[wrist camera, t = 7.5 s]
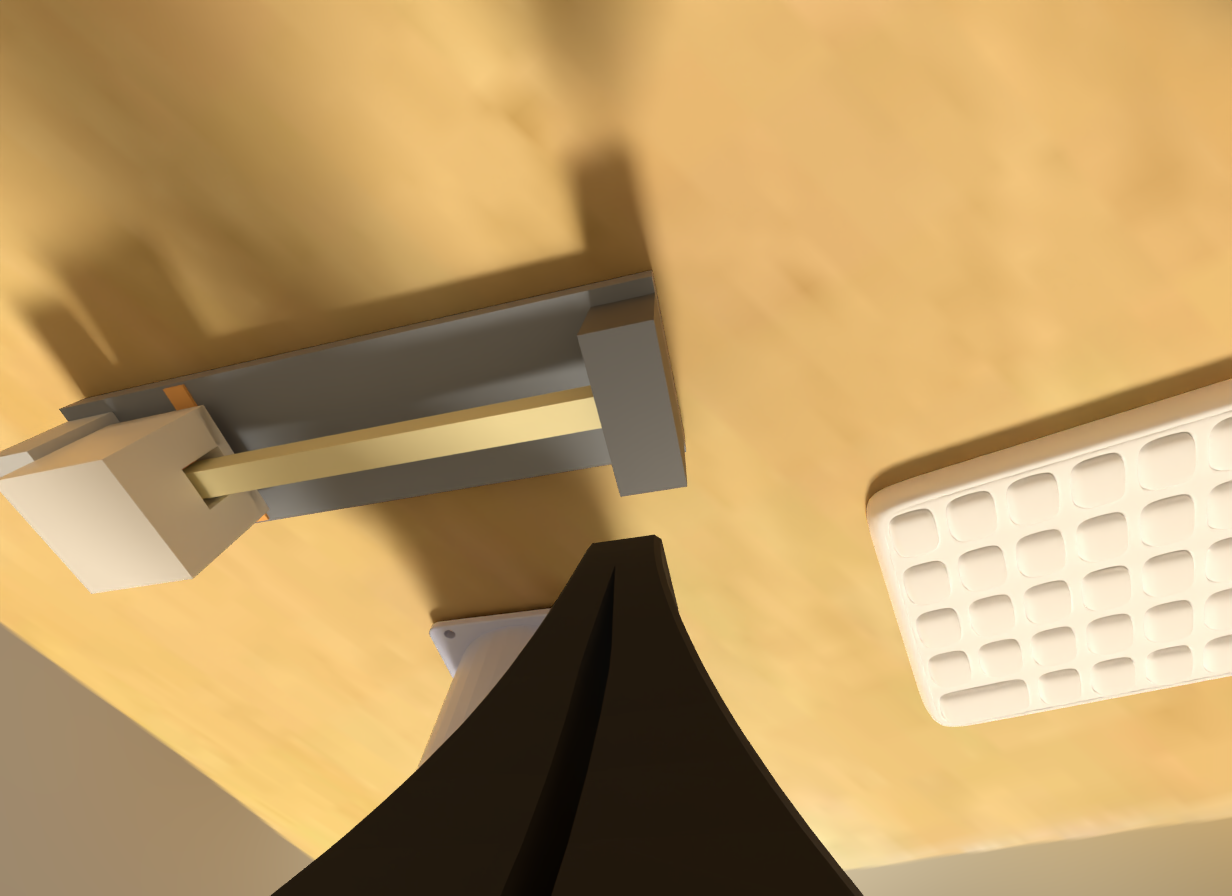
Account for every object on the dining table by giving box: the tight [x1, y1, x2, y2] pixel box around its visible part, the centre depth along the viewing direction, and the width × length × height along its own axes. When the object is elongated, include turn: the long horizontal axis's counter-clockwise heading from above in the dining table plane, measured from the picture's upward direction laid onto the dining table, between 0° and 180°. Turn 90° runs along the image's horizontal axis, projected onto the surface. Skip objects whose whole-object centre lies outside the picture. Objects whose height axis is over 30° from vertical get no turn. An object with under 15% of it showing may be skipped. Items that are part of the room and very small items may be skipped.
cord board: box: [0, 270, 687, 523], centre depth 18 cm, size 22×6×4 cm, turn 103°
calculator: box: [866, 378, 1232, 727], centre depth 20 cm, size 13×20×2 cm, turn 115°
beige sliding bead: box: [0, 405, 270, 594], centre depth 18 cm, size 4×4×4 cm
